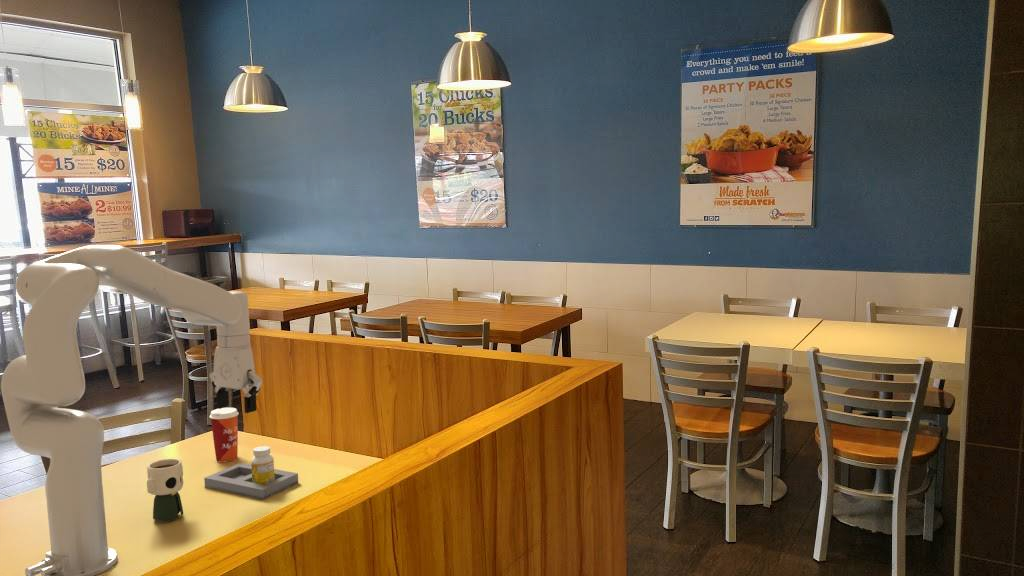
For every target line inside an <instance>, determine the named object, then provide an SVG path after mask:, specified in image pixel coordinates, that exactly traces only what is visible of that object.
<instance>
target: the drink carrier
mask: <svg viewBox="0 0 1024 576" xmlns="http://www.w3.org/2000/svg"><path fill="white" fill-rule="evenodd" d="M274 475H275V480H274V481H272V482H270V483H268V484H266V485H262V484H257V483H252V467H251V464H250V463H244V462H239V463H237V464H235V465H232V466H230V467H227V468H225V469H222V470H219V471H217V472H215V473H212V474H210V475H207V476H205V477H204V478H203V480H204V488H206V489H211V490H216V491H221V492H226V493H231V494H235V495H241V496H244V497H248V498H253V499H256V500H257V499H258V500H266V499H268V498H270V497H273V496H274V495H277V494H278V493H281V492H282V491H285V490H288V489H289V488H290V487H291V488H292V486H295V485H297V484H299V473H298V472H292V471H287V470H282V469H276V468H274Z"/></svg>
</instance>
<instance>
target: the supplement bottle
mask: <svg viewBox="0 0 1024 576" xmlns="http://www.w3.org/2000/svg"><path fill="white" fill-rule="evenodd" d="M252 451H253V457H252V458H251V460H250V463H251V467H252V483H257V484H262V485H266V484H268V483H270V482H272V481H274V480H275V475H274V469H275V464H274V463H275V461H274V458H275V457H274V456H273V455H272V454H271V447H270V446H267V445H265V446H264V445H263V446H256V447H254V448H253V450H252Z"/></svg>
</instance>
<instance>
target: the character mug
mask: <svg viewBox="0 0 1024 576" xmlns="http://www.w3.org/2000/svg"><path fill="white" fill-rule="evenodd" d="M146 467H147V468H146V470H147V471H146V473H147V480H146V490H147V493H148V494H150V495H153V496H154V498H153V505H152V506H153V508H152V519H153V521H159V522H164V523H165V522H171V521H175V520H177V519H179V515H180V517H182V516H183V515H184V508H183V504H182V499H181V495H180V493H179V492H180V491H182V489H183V487H184V478H183V476H184V469H183V468H184V467H183V464H182V460H181V459H178V458H166V459H165V458H163V459H159V460H156V461H152V462H150V463H149V464H147V465H146Z"/></svg>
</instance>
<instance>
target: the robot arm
mask: <svg viewBox="0 0 1024 576" xmlns="http://www.w3.org/2000/svg"><path fill="white" fill-rule="evenodd" d="M100 286H105V287H106V286H107V287H111V288H115V289H116V290H119V291H122V292H123V293H125V294H128V295H130V296H132V297H135V298H137V299H138V300H139V299H140V300H141V301H144V302H146V303H148V304H150V305H153V306H157V307H161V308H164V309H166V308H167V309H174V310H180V312H181V314H182V317H183V318H184V319H185V321H187V322H188V323H191V324H193V325H197V326H198V325H199V326H213V327H215V326H216V335H217V336H216V338H217V341H216V342H217V343H216V344H217V346H216V347H215V350H214V356H213V358H214V359H213V371H211V372H210V373H209V378H210V380H211V381H210V382H211V385H212V387H213V388H214V390H213V391H214V392H215V394H216V409H221V408H229V405H230V401H229V399H230V398H229V397H230V396H229V395H230V393H229V390H228V389H233V390H242V391H243V394H244V395H245V396H244V397H243V402H244V413H245V414H250V413H253V412H256V411H257V396H258V394H259V391H260V390H261V386H262V384H263V379H262V378H261V377H260V376H259V375H258V374H257V373H256V370H255V361H254V354H253V351H252V347H251V339H250V337H251V335H250V311H249V310H250V309H249V295H248V294H247V292H245V291H240V290H232V291H230V290H229V291H228V290H226V289H225V288H222V287H221V286H218V285H216V284H214V283H211V282H208V281H205V280H202V279H200V278H196V277H193V276H190V275H187V274H185V273H182V272H179V271H176V270H173V269H171V268H168V267H166V266H164V265H163V264H161V263H159V262H157V261H155V260H152V259H151V258H149V257H147V256H145V255H143V254H141V253H139V252H137V251H135V250H133V249H131V248H129V247H126V246H123V245H120V244H89V245H84V246H81V247H77V248H75V249H72V250H68V251H65V252H63V253H60V254H57V255H54V256H50V257H48V258H45V259H41V260H39V261H36V262H33V263H30V264H28V265H27V266H25V267H24V268H23V269H22V270H21V271H20V272H19V274H18V275H17V278H16V281H15V289H16V292H17V295H18V297H20V299H21V300H23V301H24V302H25V303H27V304H30V305H32V307H31V308H30V309H29V312H28V314H27V315H26V316H25V320H24V323H23V326H22V327H23V328H22V340H23V341H22V342H23V346H24V347H23V348H24V353H25V354H23V355H21V356H18V357H16V358H14V359H13V360H12V361H10V363H8V364H7V366H5V369H4V371H3V373H2V377H1V382H0V389H1V390H0V391H1V396H2V400H3V404H4V409H5V414H6V418H7V419H6V420H7V423H8V427H9V430H10V433H11V437H12V440H13V442H14V443H15V445H16V446H17V448H18V449H20V451H22V452H24V453H26V454H30V455H33V456H38V457H46V458H48V459H49V460H50V462H49V466H48V470H47V471H46V472H47V473H46V476H45V481H44V483H45V484H44V488H45V489H44V490H45V491H44V492H45V498H46V507H47V509H46V510H47V519H48V529H49V541H50V551H47V552H45V558H43V559H42V560H41V562H39V563H38V562H37V563H35V564H33V565H30V566H27V567H26V568H25V570H24V574H25V576H38V575H41V576H97V575H100V574H101V573H103V572H105V571H107V570H109V569H111V567H113V566H114V565H115V564H116V563H117V561H118V552H117V551H116V550H115V549H113V548H111V547H108V545H109V544H108V536H107V532H108V531H107V522H106V510H105V499H104V487H103V476H102V474H103V473H102V459H103V458H102V456H103V448H104V441H105V430H104V426H103V423H102V422H101V421H100V420H99V419H98V418H97V417H96V416H95V415H93V414H91V413H89V412H86V411H83V410H79V409H72V408H65V407H68V406H70V405H71V406H72V405H73V404H75V403H77V402H78V401H79V400H81V398H82V397H83V396H84V394H85V391H86V379H85V373H84V368H83V363H82V358H81V353H80V349H79V348H80V347H79V345H78V344H79V343H78V336H77V327H78V323H79V319H80V318H81V315H82V313H84V311H85V310H86V309H87V307H88V306H89V305H90V304H91V303H92V301H94V299H95V297H96V295H97V294H98V291H99V288H100ZM63 407H64V408H63Z"/></svg>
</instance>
